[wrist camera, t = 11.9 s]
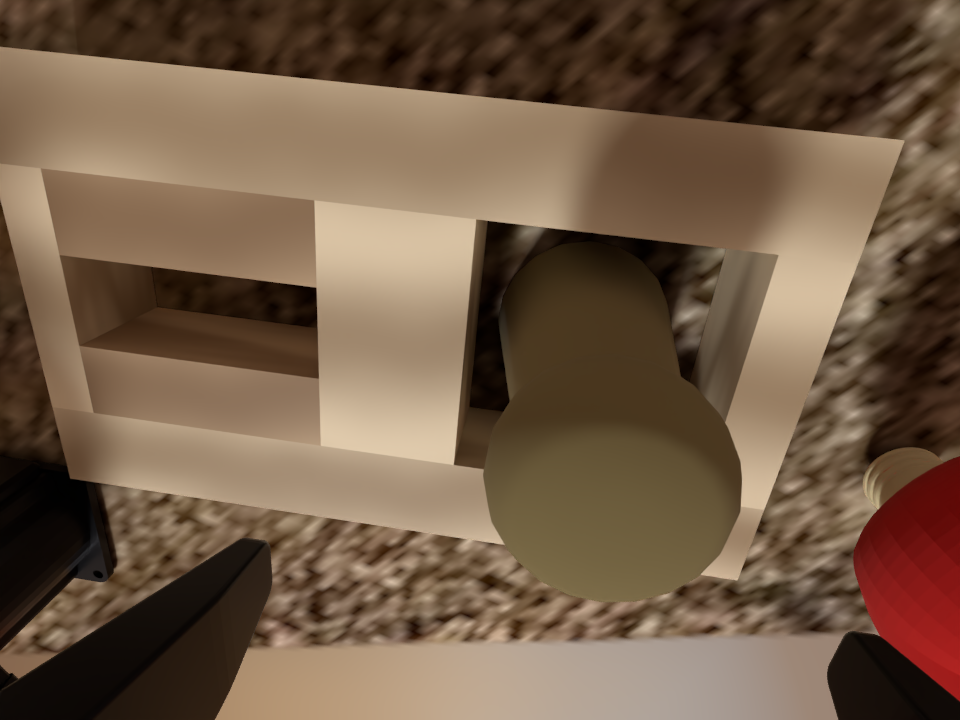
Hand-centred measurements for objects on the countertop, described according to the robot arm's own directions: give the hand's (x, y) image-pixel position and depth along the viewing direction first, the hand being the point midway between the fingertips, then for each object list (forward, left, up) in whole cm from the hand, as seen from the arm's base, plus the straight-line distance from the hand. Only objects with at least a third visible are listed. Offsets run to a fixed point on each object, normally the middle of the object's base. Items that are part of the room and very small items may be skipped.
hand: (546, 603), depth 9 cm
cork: (0, -1, -13) cm, 13 cm away
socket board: (0, +4, -13) cm, 14 cm away
